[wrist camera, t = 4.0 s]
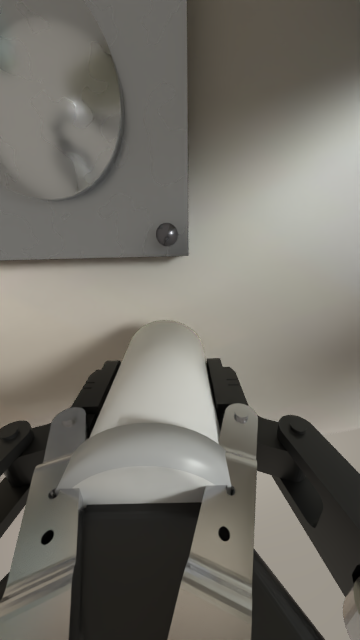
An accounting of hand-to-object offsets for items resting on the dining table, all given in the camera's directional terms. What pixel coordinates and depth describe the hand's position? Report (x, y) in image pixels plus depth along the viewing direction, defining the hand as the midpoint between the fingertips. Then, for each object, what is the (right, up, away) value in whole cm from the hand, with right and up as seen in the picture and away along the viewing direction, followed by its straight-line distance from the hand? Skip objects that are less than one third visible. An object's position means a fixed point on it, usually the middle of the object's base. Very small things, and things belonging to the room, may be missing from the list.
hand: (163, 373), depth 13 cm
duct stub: (0, +1, +2) cm, 2 cm away
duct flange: (-6, +14, -1) cm, 15 cm away
